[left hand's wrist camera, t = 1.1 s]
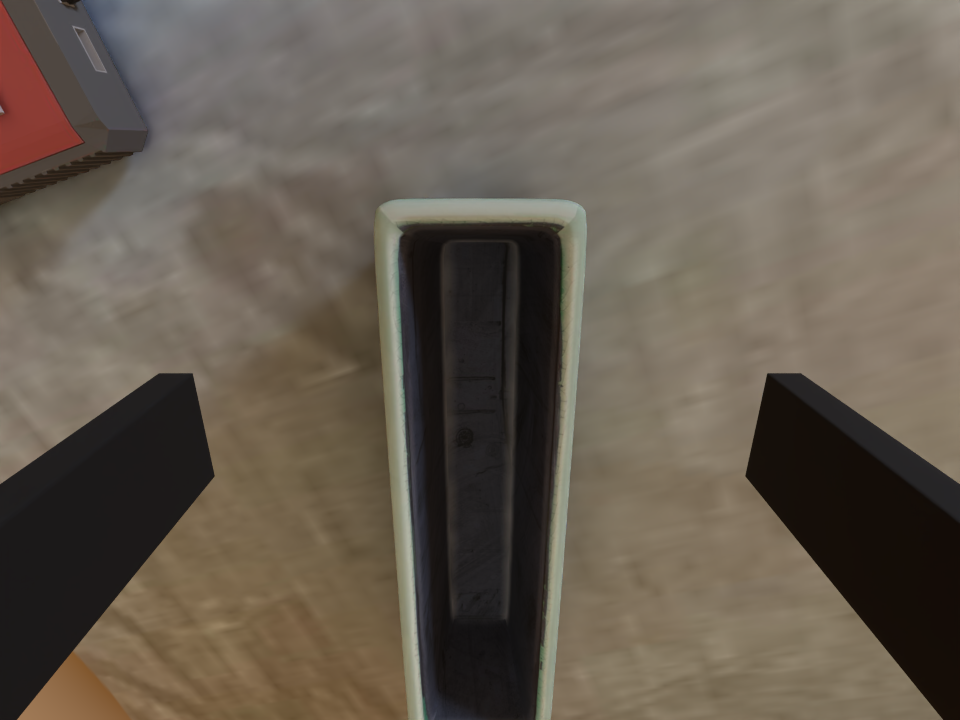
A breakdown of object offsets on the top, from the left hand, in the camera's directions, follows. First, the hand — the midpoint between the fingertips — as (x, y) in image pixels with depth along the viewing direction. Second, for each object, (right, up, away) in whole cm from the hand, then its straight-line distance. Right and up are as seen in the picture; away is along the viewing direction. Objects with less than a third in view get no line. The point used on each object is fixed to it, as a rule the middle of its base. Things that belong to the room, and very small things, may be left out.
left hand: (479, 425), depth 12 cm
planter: (0, -3, +16) cm, 17 cm away
